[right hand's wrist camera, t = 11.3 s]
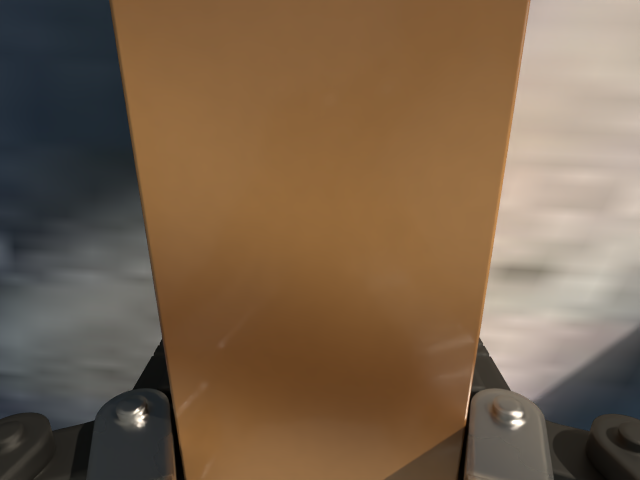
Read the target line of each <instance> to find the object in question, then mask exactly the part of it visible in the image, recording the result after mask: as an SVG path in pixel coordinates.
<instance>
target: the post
mask: <svg viewBox="0 0 640 480" xmlns="http://www.w3.org/2000/svg"><path fill="white" fill-rule="evenodd" d="M109 2H110V8H111V15H112V21H113V28H114V34H115V40H116V47H117V53H118V59H119V66H120V72H121V78H122V85H123V91H124V97H125V104H126V110H127V116H128V123H129V129H130V136H131V142H132V148H133V155H134V161H135V167H136V174H137V180H138V186H139V193H140V199H141V205H142V212H143V218H144V224H145V231H146V237H147V244H148V250H149V256H150V263H151V269H152V275H153V282H154V288H155V294H156V301H157V307H158V313H159V320H160V326H161V332H162V339H163V345H164V352H165V358H166V364H167V371H168V377H169V383H170V390H171V396H172V402H173V409H174V415H175V421H176V428H177V434H178V440H179V447H180V453H181V460H182V466H183V472H184V479H185V480H458V473H459V466H460V460H461V453H462V447H463V440H464V434H465V427H466V420H467V414H468V407H469V401H470V394H471V388H472V381H473V374H474V368H475V361H476V355H477V348H478V341H479V335H480V328H481V322H482V315H483V309H484V302H485V295H486V289H487V282H488V276H489V269H490V263H491V256H492V249H493V243H494V236H495V230H496V223H497V217H498V210H499V203H500V197H501V190H502V184H503V177H504V171H505V164H506V157H507V151H508V144H509V138H510V131H511V124H512V118H513V111H514V105H515V98H516V92H517V85H518V78H519V72H520V65H521V59H522V52H523V46H524V39H525V32H526V26H527V19H528V13H529V6H530V0H109Z"/></svg>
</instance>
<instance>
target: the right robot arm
mask: <svg viewBox="0 0 640 480" xmlns="http://www.w3.org/2000/svg"><path fill="white" fill-rule="evenodd" d="M0 480H185V479H184V472H183V466H182V460H181V453H180V447H179V440H178V434H177V428H176V421H175V415H174V409H173V402H172V396H171V390H170V383H169V377H168V371H167V364H166V358H165V352H164V345H163V339H162V340H161V342H160V345H158V347H157V349H156V350H155V352H154V356H152V357H151V359H150V361H149V362H148V364H147V366H146V368H145V369H144V371H143V373H142V374H141V376H140V378H139V380H138V381H137V383H136V385H135V386H134V388H133V390H131V391H127V392H125V393H122V394H120V395H118V396H116V397H114V398H113V399H111V400H110V401H108V402H107V403H106V404H105V405H104V406H103V407H102V408H101V409H100V410H99V412H98V413H97V415H96V418H95V420H94V421H91V422H88V423H84V424H80V425H76V426H71V427H67V428H63V429H58V430H54V431H52V429H51V426H50V423H49V420H48V419H47V418H46V417H45V416H44V415H42V414H38V413H20V414H15V415H11V416H8V417H5V418H2V419H0ZM458 480H640V420H638V419H636V418H633V417H629V416H625V415H619V414H605V415H601V416H599V417H597V418H596V419H595V420H594V421H593V423H592V426H591V429H590V431H586V430H582V429H577V428H573V427H569V426H564V425H560V424H556V423H553V422H550V421H547V420H545V418H544V415H543V413H542V412H541V410H540V409H539V408H538V407H537V406H536V405H535V404H534V403H533V402H532V401H530V400H529V399H527V398H526V397H524V396H522V395H520V394H518V393H515V392H513V391H511V390H510V388H509V387H508V385H507V383H506V382H505V380H504V378H503V377H502V375H501V373H500V371H499V370H498V368H497V366H496V365H495V363H494V361H493V360H492V358H491V357H489V353H488V351H487V350H486V348H485V346H483V343H482V341H481V339H480V338H479V341H478V348H477V355H476V361H475V368H474V374H473V381H472V388H471V394H470V401H469V407H468V414H467V420H466V427H465V434H464V440H463V447H462V453H461V460H460V466H459V473H458Z"/></svg>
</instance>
